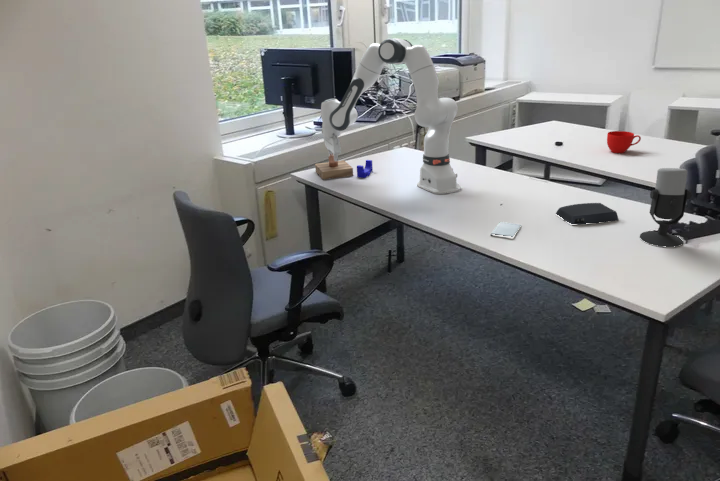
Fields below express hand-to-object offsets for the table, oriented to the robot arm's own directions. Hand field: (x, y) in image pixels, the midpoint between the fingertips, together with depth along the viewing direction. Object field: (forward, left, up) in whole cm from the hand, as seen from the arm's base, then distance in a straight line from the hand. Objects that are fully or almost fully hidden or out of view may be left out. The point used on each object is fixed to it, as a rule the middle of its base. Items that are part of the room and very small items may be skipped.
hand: (333, 158), depth 261 cm
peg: (0, 0, -7) cm, 7 cm away
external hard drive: (-100, -74, -9) cm, 125 cm away
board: (0, 0, -8) cm, 8 cm away
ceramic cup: (-30, -155, -8) cm, 158 cm away
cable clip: (-8, -15, -8) cm, 19 cm away
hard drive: (-100, -39, -9) cm, 108 cm away
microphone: (-127, -83, -8) cm, 152 cm away
